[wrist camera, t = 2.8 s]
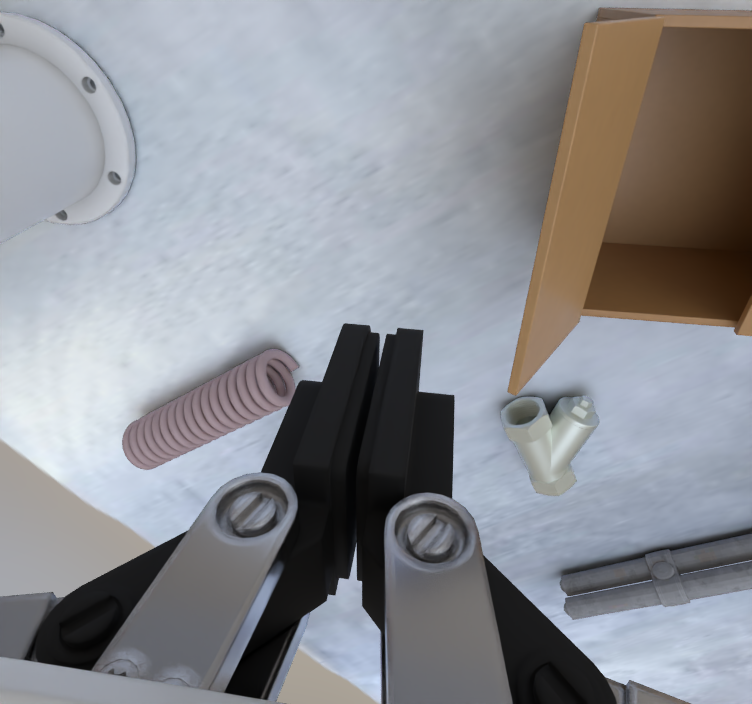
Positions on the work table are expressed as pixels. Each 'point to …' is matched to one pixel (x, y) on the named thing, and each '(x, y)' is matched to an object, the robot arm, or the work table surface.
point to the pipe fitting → (550, 438)
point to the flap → (584, 181)
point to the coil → (211, 410)
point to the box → (685, 181)
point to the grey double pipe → (661, 578)
